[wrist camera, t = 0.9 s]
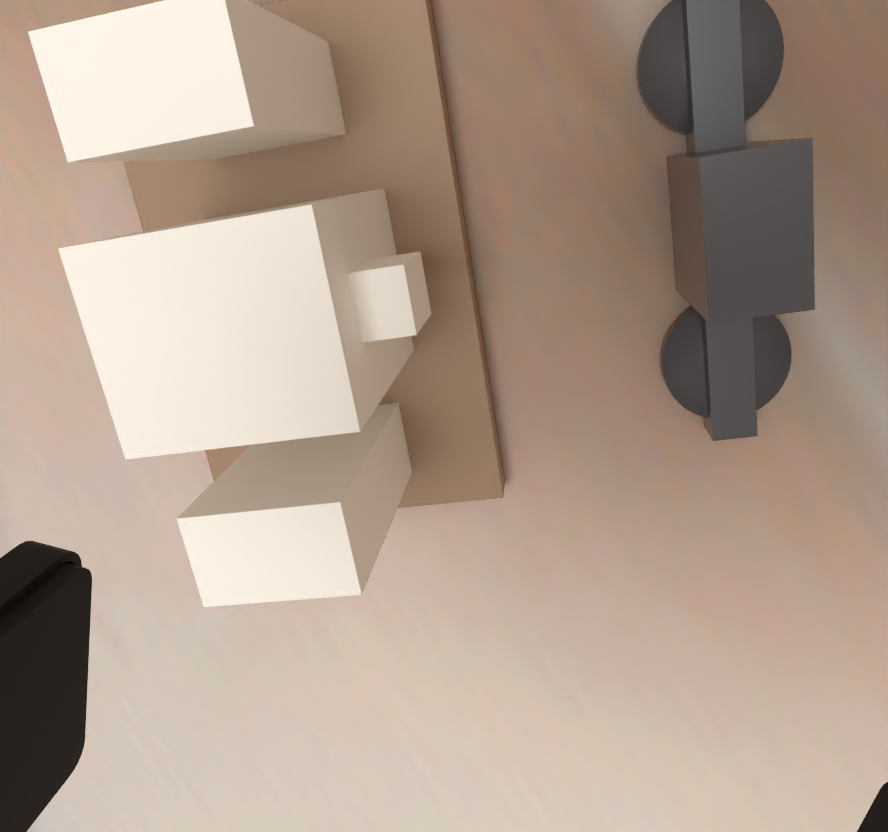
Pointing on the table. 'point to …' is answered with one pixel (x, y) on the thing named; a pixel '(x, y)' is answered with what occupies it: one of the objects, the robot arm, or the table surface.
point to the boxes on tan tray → (281, 275)
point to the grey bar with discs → (728, 209)
